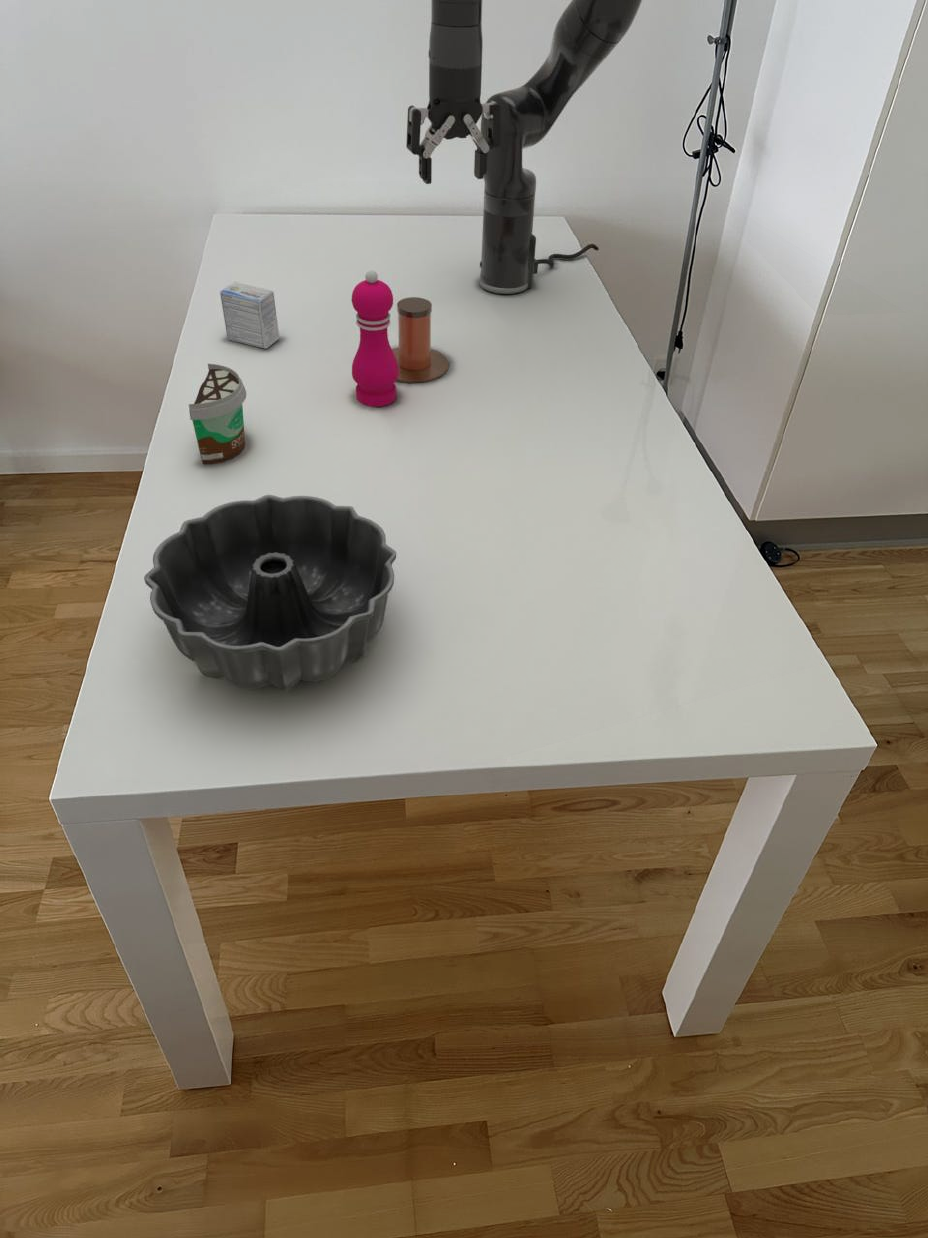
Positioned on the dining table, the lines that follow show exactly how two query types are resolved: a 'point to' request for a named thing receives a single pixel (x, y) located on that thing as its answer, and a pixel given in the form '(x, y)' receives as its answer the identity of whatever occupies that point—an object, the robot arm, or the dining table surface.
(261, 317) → the medicine box
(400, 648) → the dining table surface
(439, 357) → the cork coaster
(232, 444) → the food container
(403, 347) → the spice jar
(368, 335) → the pepper mill
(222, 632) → the bundt pan
